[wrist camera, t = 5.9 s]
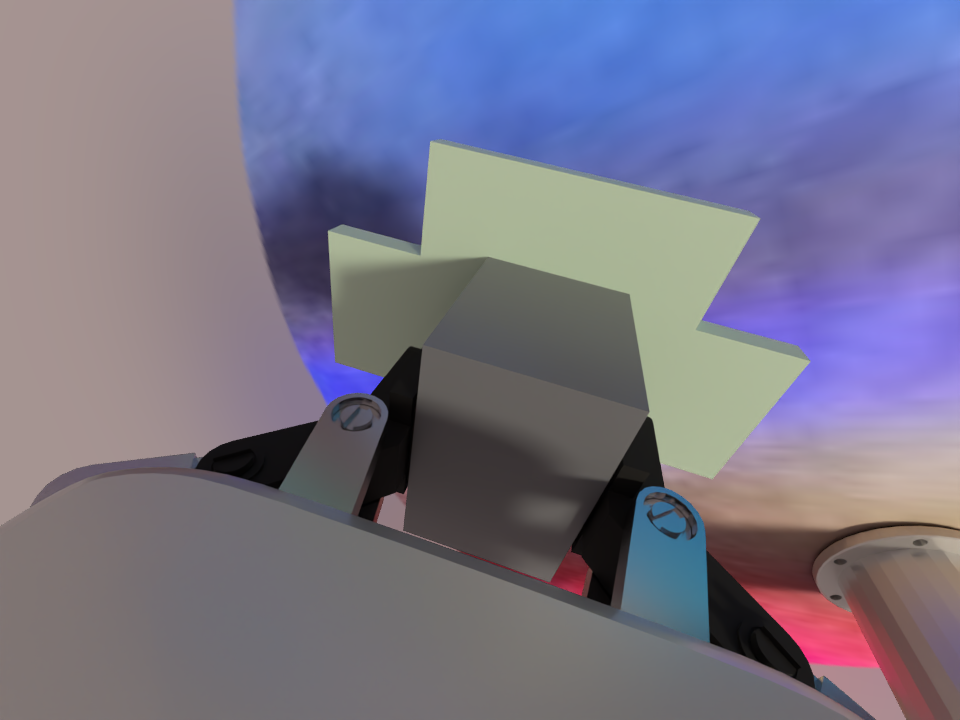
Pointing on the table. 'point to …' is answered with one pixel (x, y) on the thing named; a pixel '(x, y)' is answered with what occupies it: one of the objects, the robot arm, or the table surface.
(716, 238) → the board
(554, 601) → the robot arm
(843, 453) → the table surface
